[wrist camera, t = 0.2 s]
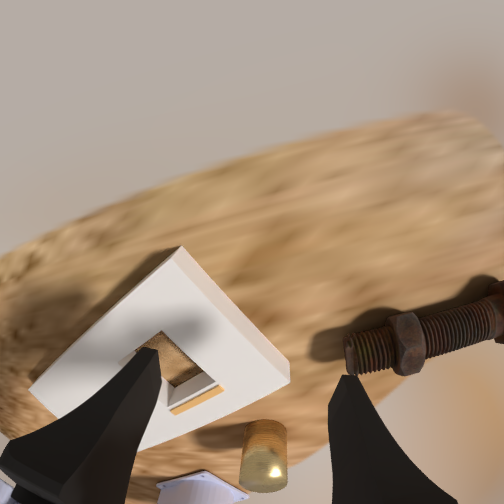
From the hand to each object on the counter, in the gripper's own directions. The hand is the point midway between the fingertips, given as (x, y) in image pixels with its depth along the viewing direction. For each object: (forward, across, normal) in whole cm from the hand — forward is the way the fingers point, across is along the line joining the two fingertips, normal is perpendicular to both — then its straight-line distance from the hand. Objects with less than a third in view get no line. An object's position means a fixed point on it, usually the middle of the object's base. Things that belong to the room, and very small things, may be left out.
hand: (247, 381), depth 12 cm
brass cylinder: (+8, -2, +18) cm, 19 cm away
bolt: (+11, -14, +4) cm, 18 cm away
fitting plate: (+9, +10, +13) cm, 18 cm away
